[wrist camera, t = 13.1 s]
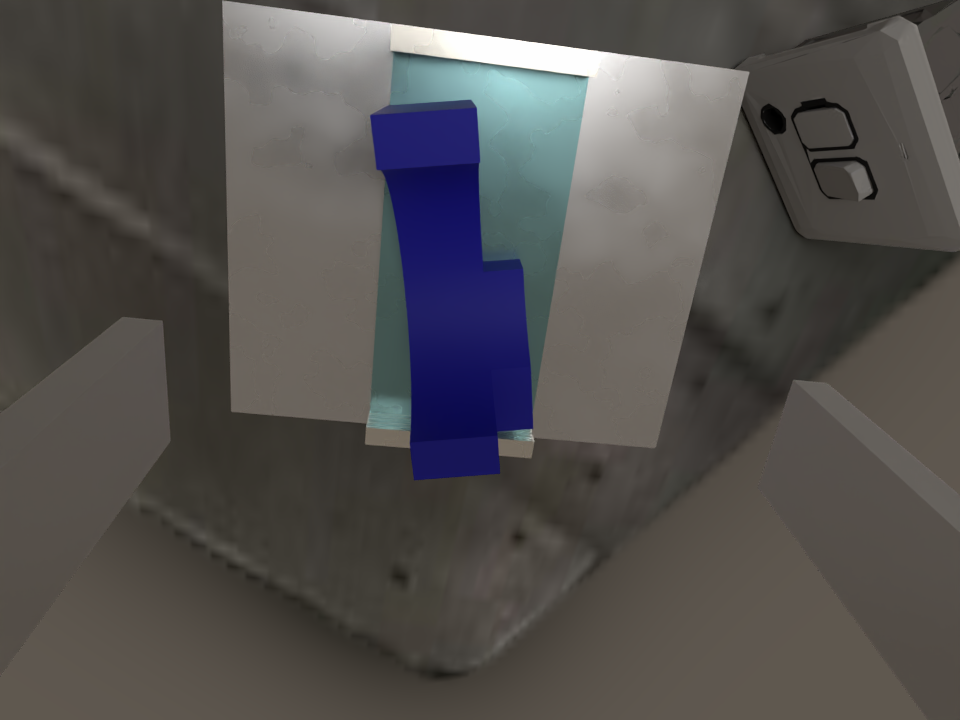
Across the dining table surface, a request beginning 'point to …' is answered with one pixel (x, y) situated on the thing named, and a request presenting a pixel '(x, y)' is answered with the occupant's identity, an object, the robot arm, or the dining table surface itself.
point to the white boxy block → (503, 215)
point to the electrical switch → (866, 129)
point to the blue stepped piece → (453, 293)
